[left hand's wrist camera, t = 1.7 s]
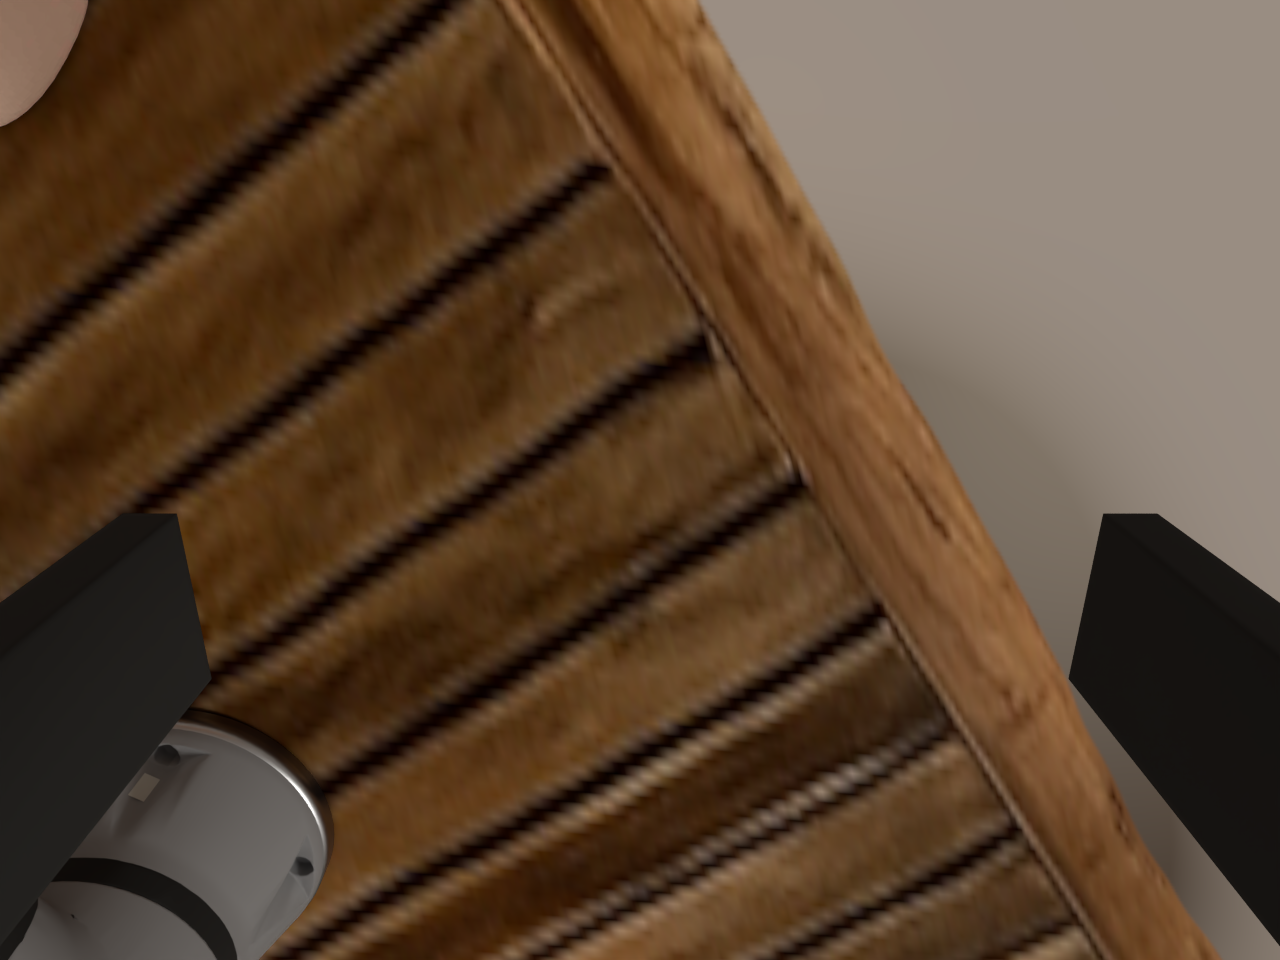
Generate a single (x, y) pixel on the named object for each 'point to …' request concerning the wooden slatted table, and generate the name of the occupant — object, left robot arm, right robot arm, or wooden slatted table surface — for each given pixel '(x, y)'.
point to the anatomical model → (34, 49)
